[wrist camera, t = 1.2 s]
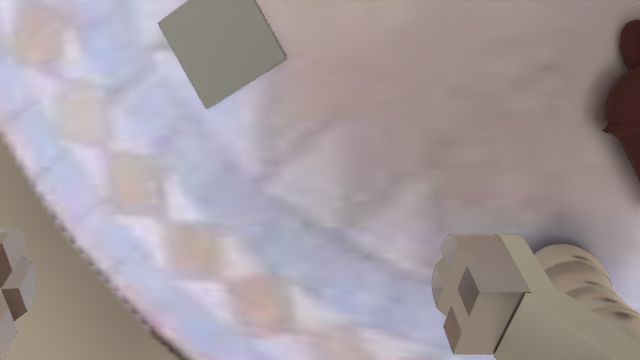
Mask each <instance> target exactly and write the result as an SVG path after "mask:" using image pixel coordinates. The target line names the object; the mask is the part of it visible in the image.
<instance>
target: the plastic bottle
mask: <svg viewBox="0 0 640 360" xmlns="http://www.w3.org/2000/svg"><path fill="white" fill-rule="evenodd" d="M534 255H535V257H536V258H537V260H538V262H539V263H540V265H541V266H542V268H543V270H544V271H545V273H546V274H547V276H548V278H549V279H550V281H551V282H552V284H553V286H554V287H555V289H556V290H557V292H558V293H566V294H567V295H569V296H570V297H572V298H573V299H575V300H576V301H577V302H579V303H580V304H582V305H583V306H585V307H586V308H588V309H589V310H591V311H592V312H594V313H595V314H597V315H598V316H600V317H601V318H603V319H604V320H606V321H607V322H609V323H610V324H612V325H613V326H615V327H616V328H618V329H619V330H620V331H622V332H623V333H625V334H626V335H628V336H629V337H631V338H632V339H634V340H635V341H637V342H638V343H640V314H639V313H638V312H636V311H635V310H633V309H632V308H630V307H629V306H628V305H627V304H626V303H625V302H624V301H623V300H622V299H621V298H620V297H619V296H618V295H617V294H616V292H615V290H614V289H613V287H612V283H611V280H610V278H609V276H608V274H607V271H606V269H605V268H604V266H603V265H602V263H601V262H600V261H599V260H598V259H597V258H596V257H595V256H594V255H592V254H591V253H589V252H587V251H585V250H583V249H581V248H579V247H576V246H574V245H568V244H555V245H550V246H547V247H544V248H542V249H541V250H539V251H537V252H536V253H535V254H534Z"/></svg>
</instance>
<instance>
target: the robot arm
mask: <svg viewBox="0 0 640 360" xmlns="http://www.w3.org/2000/svg"><path fill="white" fill-rule="evenodd" d="M25 246H26V243H25V240H24V237H23V235H22V233H21V231H19V230H17V229H9V228H0V360H5V358H6V356H7V353H8V352H9V349H10V347H11V345H12V343H13V341H14V339H15V337H16V335H17V333H18V331H17V329H16V326H15V323H14V321H15V320H16V319H18V318H19V317H21V316H22V315H24V314H25V313H26V312H27V311H28V309H29V307H30V305H31V302H32V300H33V296H34V291H35V285H36V279H35V270H34V267H33V264H32V262H31V261H30V260H28V259H27V258H26V257H25V256H23V255H22V252H23V250H24V248H25ZM441 250H442V253H443V255H444V257H443V258H442V259H441V260H440V261H438V262H437V263H436V264H435V267H434V271H433V274H432V293H433V299H434V301H435V304H436V307H437V309H438V310H439V311H440V312H442V313H443V314H444V315H445V316H446V320H445V323H444V325H443V327H444V330H445V333H446V336H447V338H448V341H449V344H450V347H451V349H452V352H453V354H485V355H494V356H493V357H494V358H495V359H496V360H640V343H638V342H637V341H635V340H634V339H632V338H631V337H629V336H628V335H626V334H625V333H623V332H622V331H620V330H619V329H618V328H616V327H615V326H613V325H612V324H610V323H609V322H607V321H606V320H604V319H603V318H601V317H600V316H598V315H597V314H595V313H594V312H592V311H591V310H589V309H588V308H586V307H585V306H583V305H582V304H580V303H579V302H577V301H576V300H575V299H573V298H572V297H570V296H569V295H567V294H566V293H558V292H557V290H556V289H555V287H554V286H553V284H552V282H551V281H550V279H549V278H548V276H547V274H546V273H545V271H544V270H543V268H542V266H541V265H540V263H539V262H538V260H537V258H536V257H535V255H534V254H533V252H532V250H531V249H530V247H529V246H528V244H527V242H526V241H525V239H524V238H523V237H522V236H520V235H519V234H494V235H492V234H448V235H447V236H446V237H445V238H444V240H443V243H442V246H441Z"/></svg>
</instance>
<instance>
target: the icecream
mask: <svg viewBox="0 0 640 360" xmlns="http://www.w3.org/2000/svg"><path fill="white" fill-rule="evenodd" d="M621 50H622V53H623V56H624V60H625V63H626V65H627V66H628V68H629V69H630V71H629V72H627V73H626V74H624V75H623V76H622V77H621V78H620V80H619V81H618V82H617V83H616V84H615V86H614V87H613V88H612V90H611V93H610V95H609V97H608V99H607V102H606V113H605V118H606V120H607V122H608V123H609V124H608V125H607V126H606V127H605V128H604V129H603V130H602V131H604V132H605V133H611V134H613V135H614V136H616V137H619V139H620V141H621V143H622V145H623V147H624V149H625V152H626V154H627V156H628V158H629V160H630V162H631V164H632V166H633V168H634V170H635V172H636V174H637V176H638V178H639V180H640V20H633V21H630V22H629V23H627V24H626V26H625V27H624V29H623V31H622V36H621Z"/></svg>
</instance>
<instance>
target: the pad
mask: <svg viewBox="0 0 640 360" xmlns="http://www.w3.org/2000/svg"><path fill="white" fill-rule="evenodd" d="M158 25H159V27H160V29H161V30H162V32H163V34H164V36H165V37H166V39H167V41H168V43H169V44H170V46H171V48H172V50H173V52H174V53H175V55H176V57H177V59H178V60H179V62H180V64H181V66H182V67H183V69H184V71H185V73H186V75H187V76H188V78H189V80H190V82H191V83H192V85H193V87H194V89H195V90H196V92H197V94H198V96H199V98H200V99H201V101H202V103H203V105H204V106H205V108H206V109H209V108H211V107H212V106H214V105H215V104H217V103H218V102H220V101H222V100H223V99H225V98H226V97H228V96H229V95H231V94H233V93H234V92H236V91H237V90H239V89H240V88H242V87H244V86H245V85H247V84H248V83H250V82H251V81H253V80H255V79H256V78H258V77H259V76H261V75H262V74H264V73H266V72H267V71H269V70H270V69H272V68H273V67H275V66H277V65H278V64H280V63H281V62H283V61H284V60H286V59H287V57H286V55H285V53H284V51H283V50H282V48H281V46H280V44H279V42H278V41H277V39H276V37H275V35H274V33H273V32H272V30H271V28H270V26H269V24H268V23H267V21H266V19H265V17H264V15H263V14H262V12H261V10H260V8H259V6H258V4H257V3H256V1H255V0H188V1H187V2H186V3H184V4H183V5H181V6H180V7H179V8H177V9H176V10H175V11H173V12H172V13H170V14H169V15H168V16H166V17H165V18H164V19H162V20H161V21H160V22H158Z"/></svg>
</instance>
